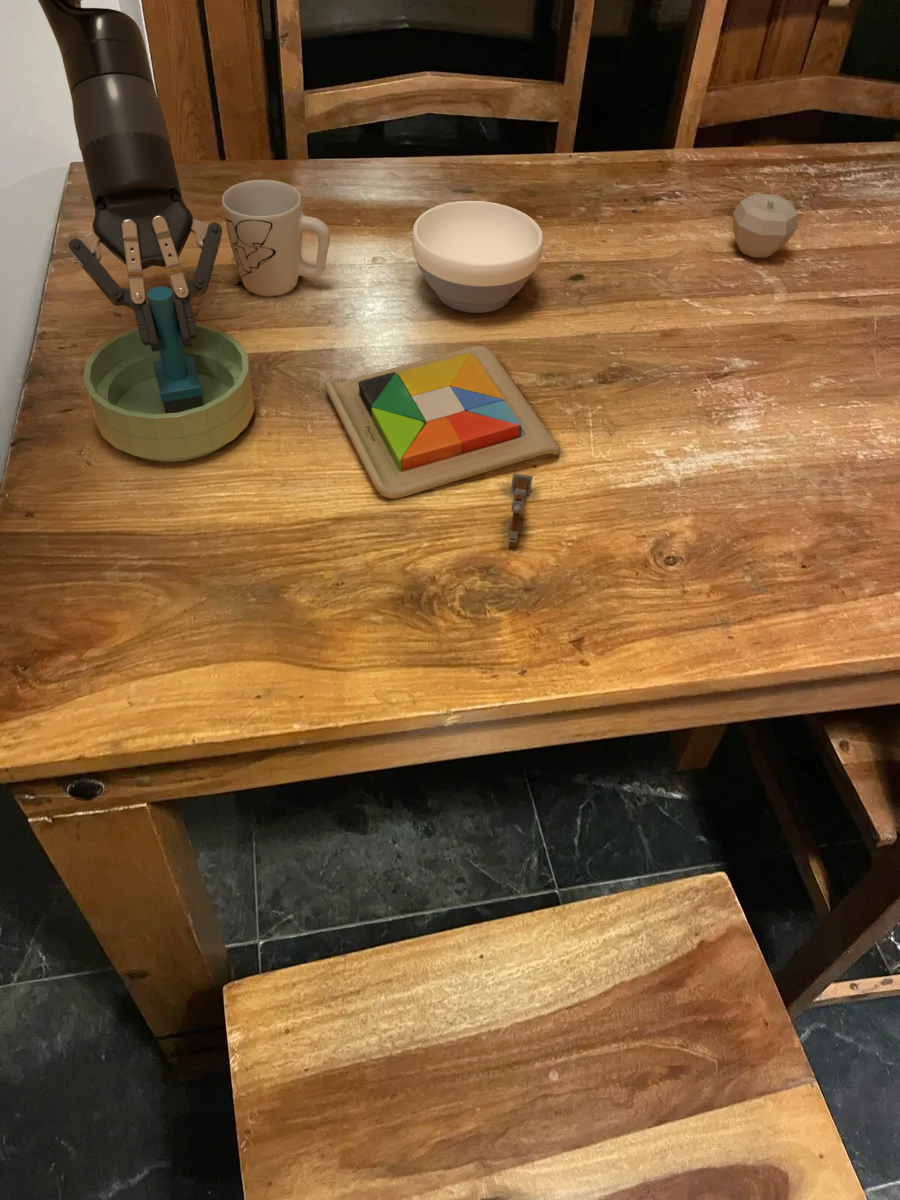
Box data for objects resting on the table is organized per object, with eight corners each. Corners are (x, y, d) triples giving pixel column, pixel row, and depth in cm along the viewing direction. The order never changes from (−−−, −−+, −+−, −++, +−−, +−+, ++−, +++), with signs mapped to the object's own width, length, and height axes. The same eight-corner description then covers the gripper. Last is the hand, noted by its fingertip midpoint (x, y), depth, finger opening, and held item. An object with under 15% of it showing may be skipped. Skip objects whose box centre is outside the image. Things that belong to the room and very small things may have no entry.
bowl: (448, 248, 114) (451, 187, 108) (556, 284, 110) (565, 222, 104) (387, 304, 106) (387, 240, 100) (501, 344, 102) (508, 280, 96)
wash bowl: (158, 492, 84) (145, 440, 80) (68, 415, 90) (51, 363, 86) (286, 421, 91) (281, 370, 87) (195, 355, 98) (185, 304, 93)
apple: (748, 272, 114) (764, 221, 109) (711, 241, 119) (725, 190, 114) (800, 261, 116) (818, 210, 112) (762, 231, 121) (778, 181, 116)
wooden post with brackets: (500, 548, 80) (507, 499, 78) (506, 517, 87) (513, 471, 86) (521, 551, 80) (529, 502, 78) (525, 519, 87) (532, 473, 85)
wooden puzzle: (321, 392, 95) (319, 362, 92) (491, 358, 100) (494, 329, 97) (377, 505, 84) (377, 476, 82) (563, 460, 90) (569, 432, 87)
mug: (340, 271, 110) (336, 187, 102) (323, 310, 104) (318, 225, 97) (245, 259, 110) (235, 175, 103) (223, 297, 105) (210, 211, 97)
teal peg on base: (207, 416, 89) (186, 305, 80) (166, 423, 88) (141, 312, 79) (198, 384, 92) (177, 274, 83) (159, 391, 91) (133, 280, 82)
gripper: (34, 136, 76) (86, 351, 78) (206, 120, 79) (252, 326, 81) (48, 172, 83) (95, 367, 85) (205, 156, 86) (247, 343, 88)
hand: (171, 346), depth 83 cm, fingers closed on teal peg on base, 2 cm apart
